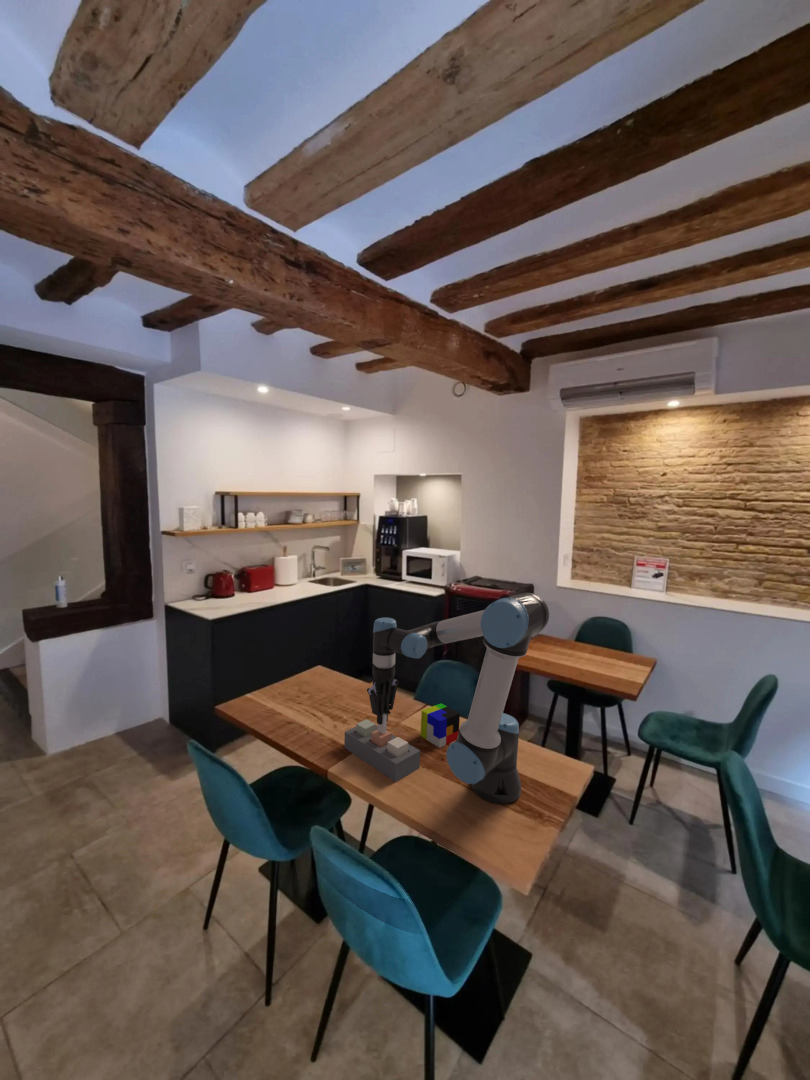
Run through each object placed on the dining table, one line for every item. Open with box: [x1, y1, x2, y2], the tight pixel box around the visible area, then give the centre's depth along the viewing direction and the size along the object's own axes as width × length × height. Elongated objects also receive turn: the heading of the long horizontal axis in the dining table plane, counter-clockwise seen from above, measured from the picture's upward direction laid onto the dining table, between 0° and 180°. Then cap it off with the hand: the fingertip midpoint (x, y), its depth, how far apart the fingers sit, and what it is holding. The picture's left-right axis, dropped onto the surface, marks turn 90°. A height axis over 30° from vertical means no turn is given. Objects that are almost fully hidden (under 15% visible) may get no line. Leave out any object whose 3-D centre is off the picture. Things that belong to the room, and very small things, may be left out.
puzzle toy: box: [420, 702, 461, 748], centre depth 168 cm, size 10×10×10 cm
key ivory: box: [387, 736, 409, 758], centre depth 148 cm, size 5×5×8 cm
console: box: [343, 725, 421, 783], centre depth 154 cm, size 26×11×6 cm, turn 45°
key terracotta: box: [371, 730, 392, 748], centre depth 154 cm, size 5×5×8 cm
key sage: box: [355, 718, 377, 738], centre depth 160 cm, size 5×5×8 cm
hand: (382, 731), depth 154 cm, fingers closed
